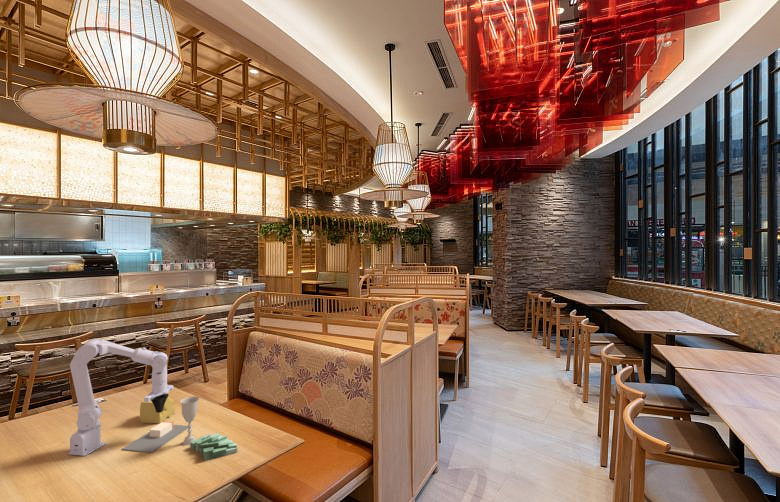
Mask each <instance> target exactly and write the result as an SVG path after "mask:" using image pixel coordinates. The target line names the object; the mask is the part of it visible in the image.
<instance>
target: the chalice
mask: <svg viewBox="0 0 780 502" xmlns="http://www.w3.org/2000/svg"><path fill="white" fill-rule="evenodd" d="M199 400H200V397H199V396H195V395H194V396H188V397H185V398H183V399H181V400H179V401H180V404H181V414H182V418H183V419H184V421H185V422H186V423H187V424H188V425H187V426H188V428H187V436H185V437H184V440H183V442H182V445H184V446H190V442H192V441H193V440H195V439H196V437H195V435H194V434H192V431H193V430H192V427H193V426H192V422H193V421H194V419H196V415H197V413H198V405H199V404H198V403H199Z"/></svg>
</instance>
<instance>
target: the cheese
mask: <svg viewBox="0 0 780 502" xmlns="http://www.w3.org/2000/svg"><path fill="white" fill-rule="evenodd" d="M174 404H175V399H174V398H171V396H170V395H169V396H168V398H167V399H166V402H165V404H164V408H163V411H162V412H161V413H158V412H156V410H155V407H154V404H153V403H152V401H151V400H150V402H144V400H142V401H141V402H140V406H139V418H140V419H139V420H140V423H143V424H144V423H145V424H160V423H162V422H163V421H166V419H167V418H171V417H172V416H174V415H175V413H176V409H175V407H174Z"/></svg>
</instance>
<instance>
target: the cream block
mask: <svg viewBox="0 0 780 502" xmlns="http://www.w3.org/2000/svg"><path fill="white" fill-rule="evenodd" d="M174 425H175V424H174V421H166V420H164V421H163V422H161V423H160V424H159V423H157V425H155V426H154V427H152V428H150V429H149V432H150V437H159V438H160V437H162V436H163V435H165V434H166V433H168V432H169V431H171V430H172V429H174Z"/></svg>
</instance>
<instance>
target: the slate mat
mask: <svg viewBox="0 0 780 502" xmlns="http://www.w3.org/2000/svg"><path fill="white" fill-rule="evenodd" d="M186 430H188V425H183V424H182V425H181V424H174V429H172V430H171V431H169V432H168V433H166V434H165V435H163V436H162V437H160V438H159V437H150V431H148V432H146V433H145V434H143V435H142V436H140V437H138V438H137V439H135V440H133V441H132V442H131V443H129V444H127V445H126V446H124V447H122V448H121V451H130V452H138V453H140V452H141V453H149V454H150V453H151V454H152V453H154V452H156V451H158V449H160V448H161V447H163V446H165V445H166V444H167V443H169V442H170V441H171V440H173V439H175V438H177V436H179V435H180V434H181V433H183V432H184V431H186Z"/></svg>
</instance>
